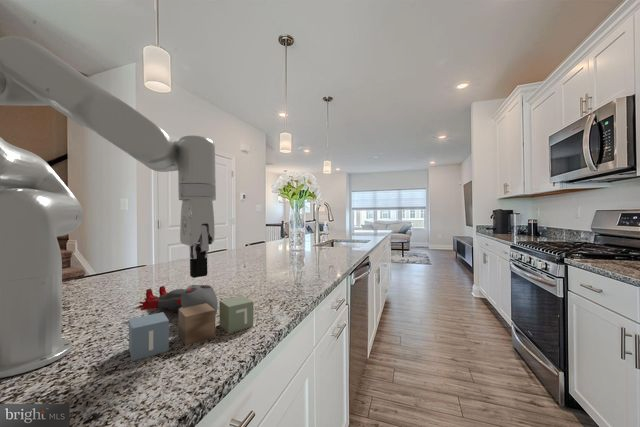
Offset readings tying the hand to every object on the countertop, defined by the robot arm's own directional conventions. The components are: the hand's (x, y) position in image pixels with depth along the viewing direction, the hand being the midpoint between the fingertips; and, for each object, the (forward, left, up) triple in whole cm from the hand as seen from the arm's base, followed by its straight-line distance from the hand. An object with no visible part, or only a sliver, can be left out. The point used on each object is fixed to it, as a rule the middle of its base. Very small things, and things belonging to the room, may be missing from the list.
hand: (198, 276), depth 59 cm
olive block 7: (+9, 0, -13) cm, 16 cm away
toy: (0, +19, -14) cm, 24 cm away
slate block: (-9, 0, -13) cm, 16 cm away
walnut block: (0, 0, -13) cm, 13 cm away
